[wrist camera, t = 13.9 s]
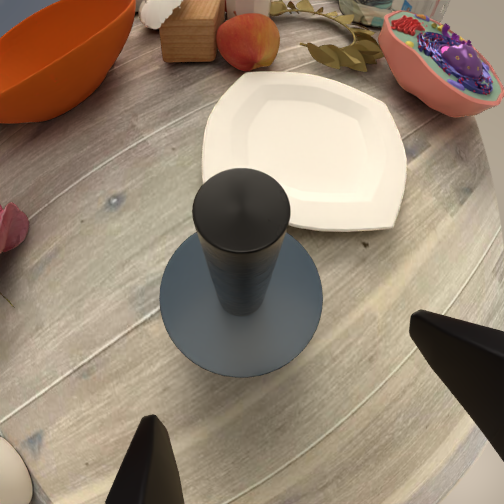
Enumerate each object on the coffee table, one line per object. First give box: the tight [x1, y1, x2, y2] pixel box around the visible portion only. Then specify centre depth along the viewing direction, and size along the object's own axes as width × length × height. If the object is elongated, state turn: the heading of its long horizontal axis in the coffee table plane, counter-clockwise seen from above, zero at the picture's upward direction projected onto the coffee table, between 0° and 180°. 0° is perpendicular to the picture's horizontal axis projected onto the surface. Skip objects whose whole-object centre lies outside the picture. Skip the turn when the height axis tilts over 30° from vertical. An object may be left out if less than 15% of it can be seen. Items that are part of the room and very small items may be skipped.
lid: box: [160, 168, 323, 378], centre depth 13 cm, size 9×9×11 cm
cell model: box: [378, 10, 504, 118], centre depth 28 cm, size 17×20×11 cm
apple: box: [216, 11, 280, 72], centre depth 30 cm, size 7×7×8 cm
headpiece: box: [270, 0, 384, 72], centre depth 35 cm, size 21×4×15 cm
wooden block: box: [159, 0, 225, 63], centre depth 33 cm, size 7×7×20 cm
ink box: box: [391, 0, 450, 22], centre depth 42 cm, size 9×5×15 cm
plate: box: [202, 72, 407, 232], centre depth 27 cm, size 19×19×2 cm
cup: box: [226, 0, 271, 20], centre depth 30 cm, size 7×7×11 cm
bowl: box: [0, 0, 136, 124], centre depth 27 cm, size 25×25×10 cm
